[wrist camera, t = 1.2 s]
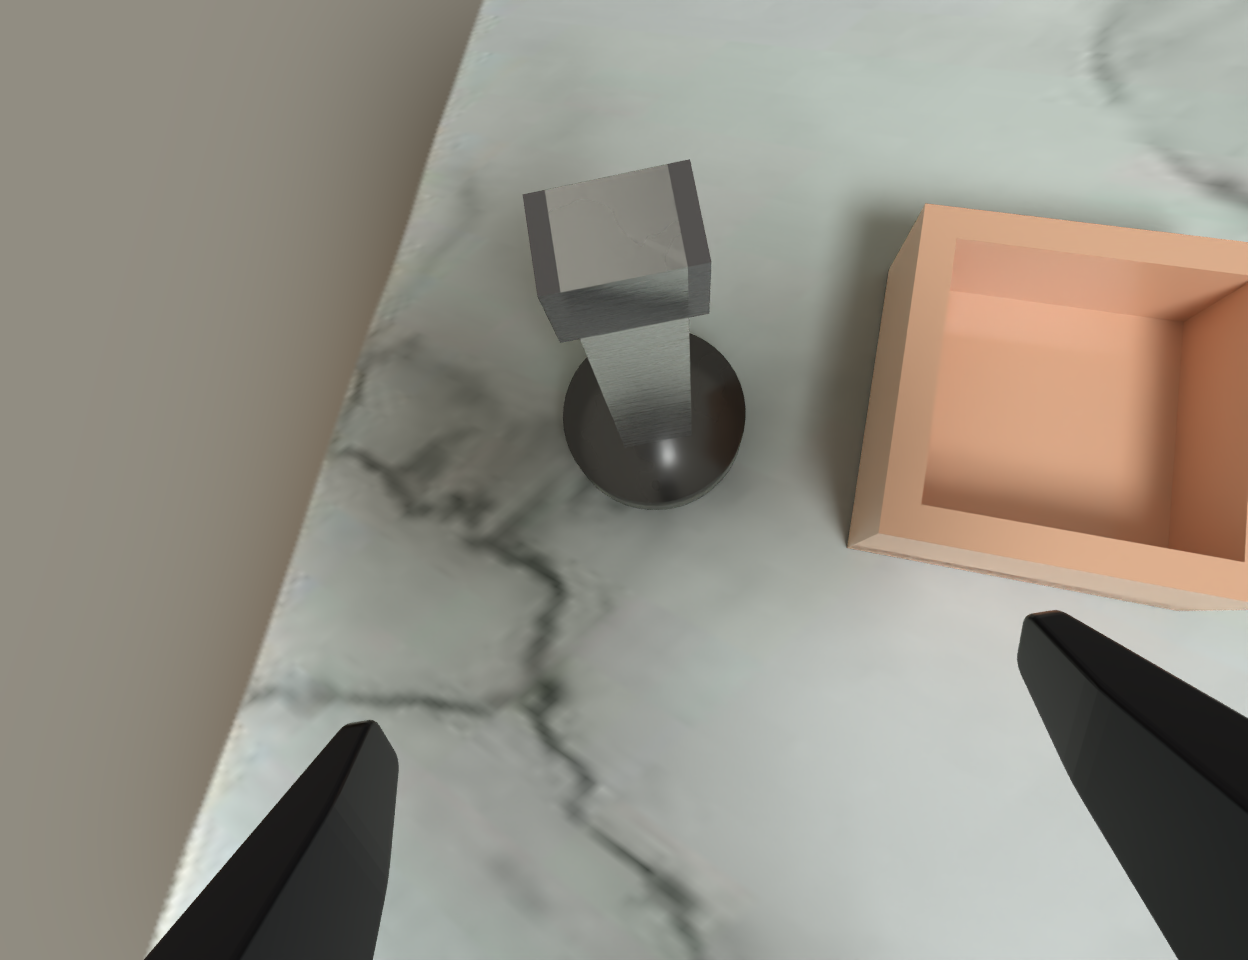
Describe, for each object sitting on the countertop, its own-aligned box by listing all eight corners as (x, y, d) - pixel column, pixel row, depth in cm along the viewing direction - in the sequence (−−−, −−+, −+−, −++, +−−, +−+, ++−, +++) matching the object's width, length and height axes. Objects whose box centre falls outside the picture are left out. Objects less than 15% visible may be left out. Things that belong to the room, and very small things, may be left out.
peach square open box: (1177, 610, 21) (1286, 609, 17) (846, 548, 23) (878, 533, 19) (1197, 311, 23) (1300, 248, 19) (888, 270, 24) (925, 203, 20)
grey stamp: (758, 493, 23) (826, 355, 11) (584, 523, 24) (466, 423, 11) (724, 329, 25) (753, 44, 12) (559, 361, 25) (429, 116, 13)
